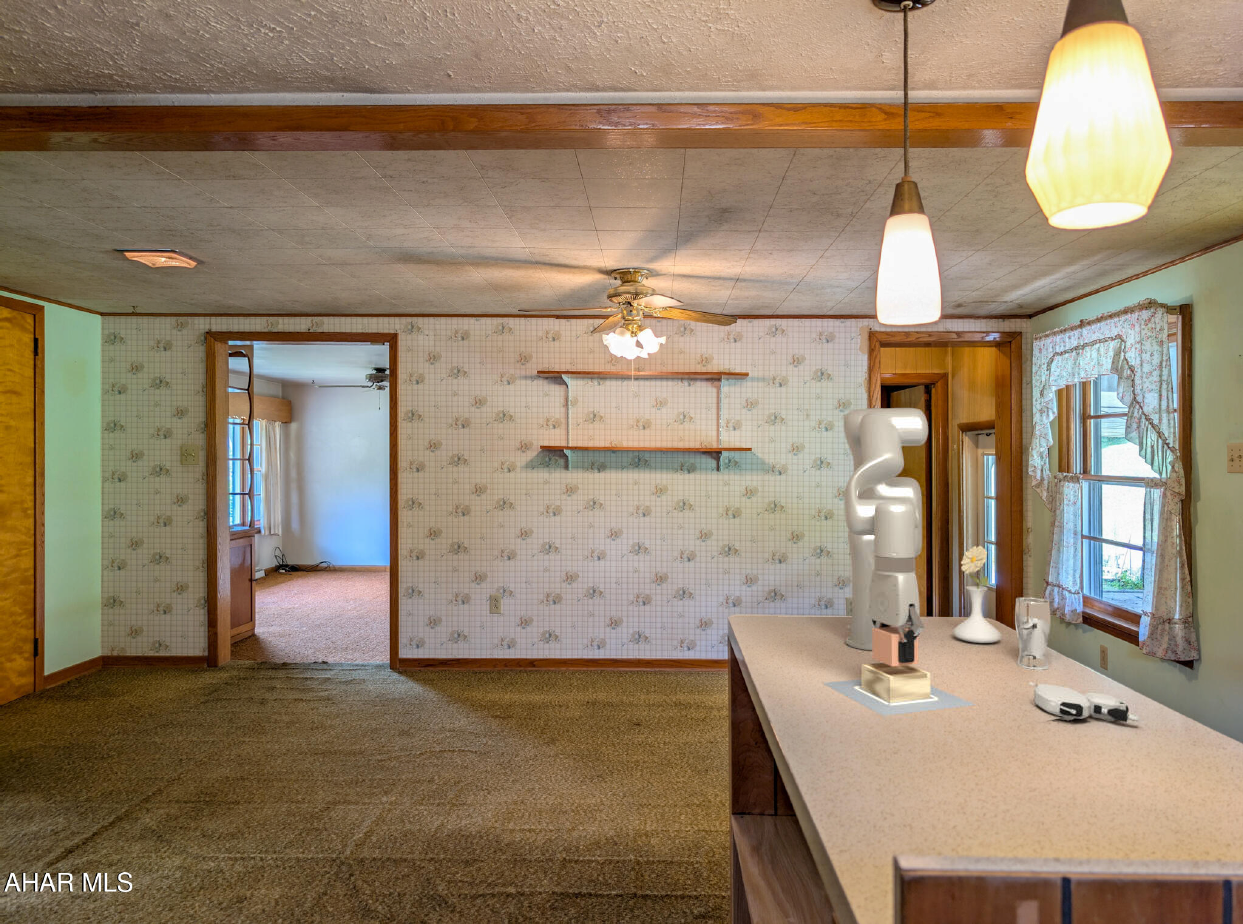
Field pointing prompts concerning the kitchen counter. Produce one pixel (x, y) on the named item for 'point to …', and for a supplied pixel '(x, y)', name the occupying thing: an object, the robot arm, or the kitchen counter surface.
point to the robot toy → (1080, 704)
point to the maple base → (895, 682)
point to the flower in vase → (976, 602)
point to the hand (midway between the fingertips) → (895, 656)
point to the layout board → (884, 708)
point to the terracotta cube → (889, 646)
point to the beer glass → (1032, 631)
